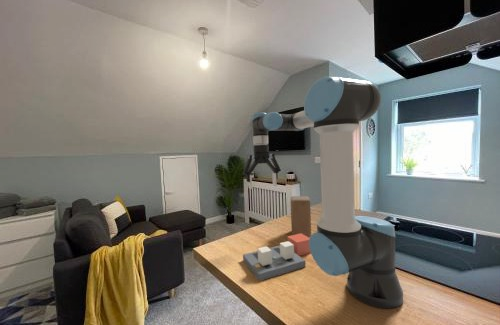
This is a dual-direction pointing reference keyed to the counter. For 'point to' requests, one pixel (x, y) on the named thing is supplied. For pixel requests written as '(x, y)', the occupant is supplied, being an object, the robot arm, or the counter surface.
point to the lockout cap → (300, 243)
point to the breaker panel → (276, 267)
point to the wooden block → (301, 215)
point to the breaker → (287, 250)
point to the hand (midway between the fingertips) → (262, 187)
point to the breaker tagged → (265, 256)
